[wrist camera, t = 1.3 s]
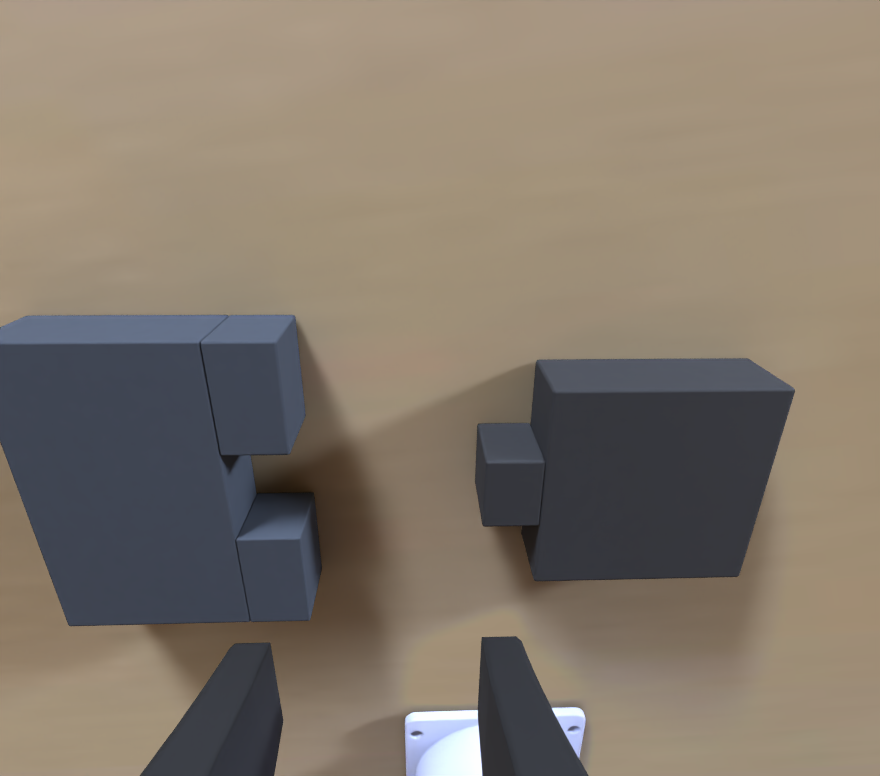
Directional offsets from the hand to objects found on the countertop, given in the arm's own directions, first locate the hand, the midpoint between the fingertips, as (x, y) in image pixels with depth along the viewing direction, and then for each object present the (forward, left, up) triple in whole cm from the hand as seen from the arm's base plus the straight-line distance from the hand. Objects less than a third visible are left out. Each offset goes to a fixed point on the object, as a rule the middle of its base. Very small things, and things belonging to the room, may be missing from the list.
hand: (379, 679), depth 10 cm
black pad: (-1, -8, -9) cm, 12 cm away
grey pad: (-1, +7, -9) cm, 12 cm away
